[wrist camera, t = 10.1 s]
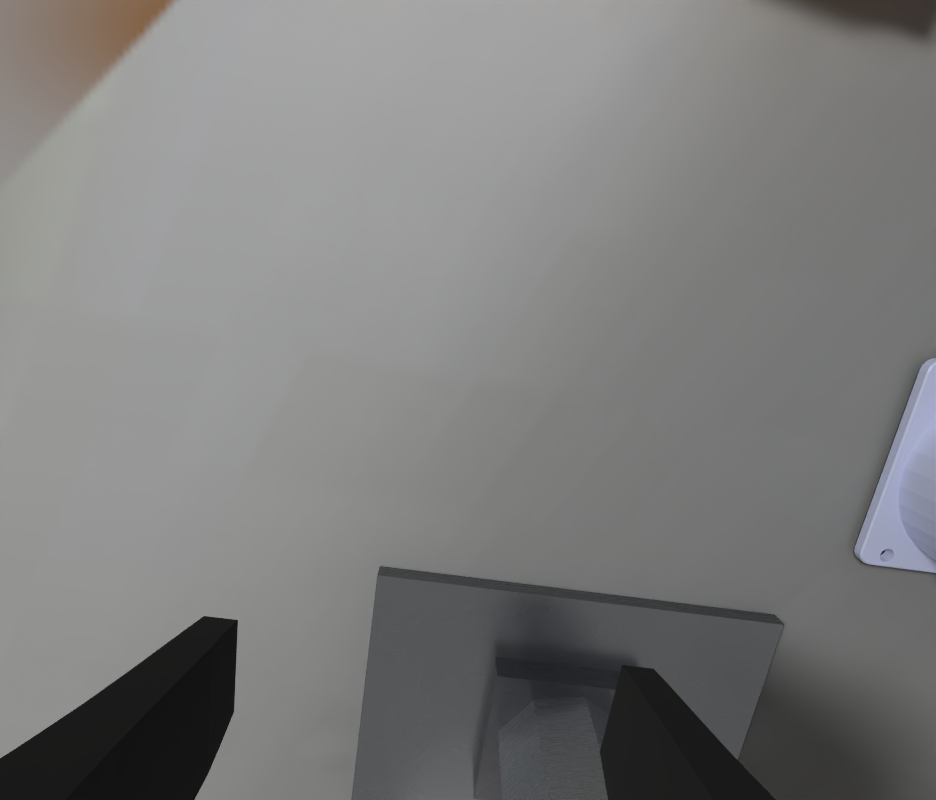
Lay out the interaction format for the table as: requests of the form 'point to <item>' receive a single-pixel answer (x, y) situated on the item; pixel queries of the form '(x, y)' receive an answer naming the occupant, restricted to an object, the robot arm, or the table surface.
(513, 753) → the tube
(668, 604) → the grey square base plate
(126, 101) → the table surface
